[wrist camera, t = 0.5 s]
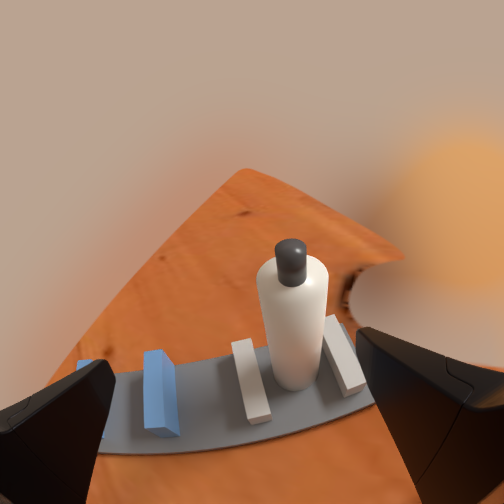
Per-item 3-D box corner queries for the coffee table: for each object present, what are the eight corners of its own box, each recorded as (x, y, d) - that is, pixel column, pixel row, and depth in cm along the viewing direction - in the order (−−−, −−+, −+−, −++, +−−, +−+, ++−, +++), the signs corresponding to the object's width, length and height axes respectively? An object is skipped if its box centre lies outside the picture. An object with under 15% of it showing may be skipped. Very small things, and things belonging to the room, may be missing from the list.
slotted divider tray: (378, 402, 19) (390, 385, 17) (86, 452, 17) (60, 440, 15) (341, 327, 26) (346, 302, 24) (90, 379, 24) (70, 361, 22)
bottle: (324, 382, 21) (343, 263, 12) (279, 396, 21) (261, 285, 12) (310, 347, 24) (312, 219, 15) (268, 359, 24) (244, 235, 15)
